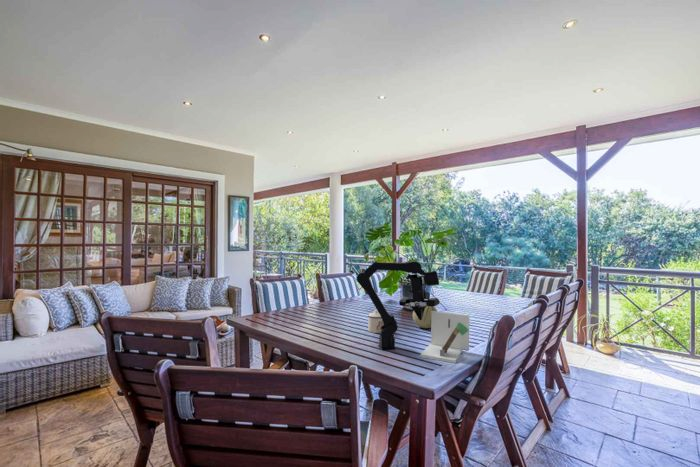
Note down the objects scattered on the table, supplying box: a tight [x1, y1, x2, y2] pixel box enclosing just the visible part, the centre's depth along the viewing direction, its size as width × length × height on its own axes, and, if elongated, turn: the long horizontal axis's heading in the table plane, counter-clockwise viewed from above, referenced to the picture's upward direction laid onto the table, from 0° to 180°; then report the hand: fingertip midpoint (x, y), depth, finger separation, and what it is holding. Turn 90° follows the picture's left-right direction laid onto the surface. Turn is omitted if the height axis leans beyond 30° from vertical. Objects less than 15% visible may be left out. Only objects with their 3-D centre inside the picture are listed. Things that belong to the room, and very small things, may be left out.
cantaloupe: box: [412, 306, 438, 329], centre depth 204 cm, size 15×15×15 cm
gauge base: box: [420, 311, 470, 364], centre depth 158 cm, size 18×19×17 cm
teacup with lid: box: [367, 309, 384, 334], centre depth 196 cm, size 12×9×12 cm
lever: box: [442, 328, 460, 353], centre depth 152 cm, size 2×3×12 cm, turn 153°
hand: (420, 319), depth 165 cm, fingers closed
